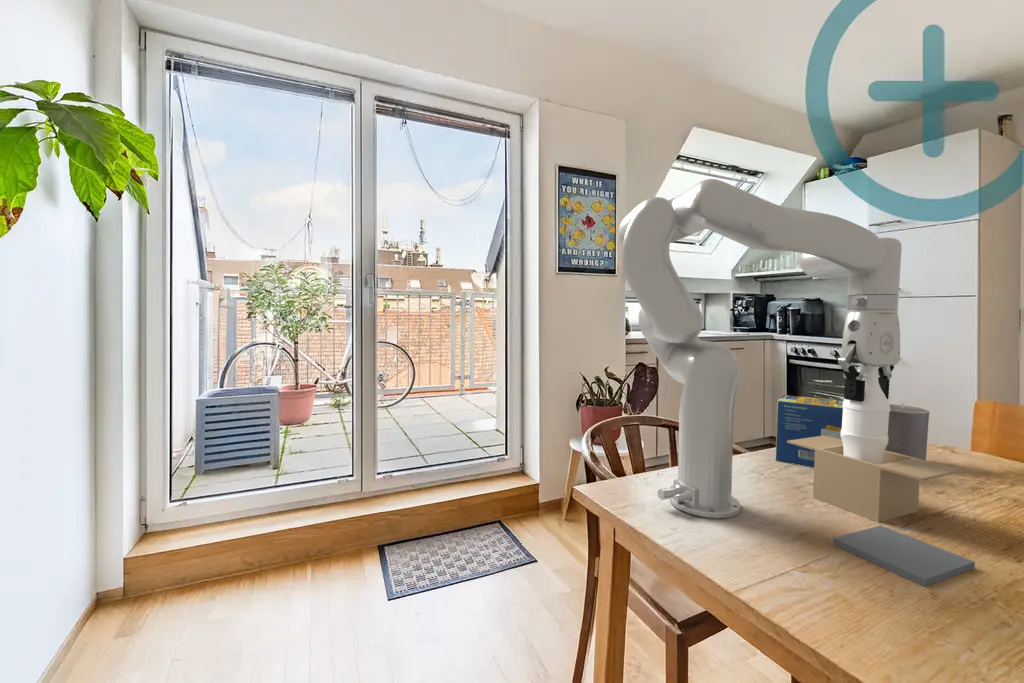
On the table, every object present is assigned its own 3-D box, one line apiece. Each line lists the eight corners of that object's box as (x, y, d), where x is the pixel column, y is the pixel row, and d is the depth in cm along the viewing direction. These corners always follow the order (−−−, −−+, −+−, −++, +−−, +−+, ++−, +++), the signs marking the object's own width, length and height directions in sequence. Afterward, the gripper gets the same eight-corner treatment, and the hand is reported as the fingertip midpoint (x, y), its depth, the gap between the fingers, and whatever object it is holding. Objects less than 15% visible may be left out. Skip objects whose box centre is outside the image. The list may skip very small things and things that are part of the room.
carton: (919, 538, 73) (922, 478, 72) (785, 486, 95) (786, 440, 94) (959, 526, 77) (962, 469, 76) (822, 479, 99) (824, 435, 99)
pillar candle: (865, 457, 114) (868, 400, 113) (891, 454, 117) (895, 398, 116) (908, 470, 105) (912, 408, 104) (936, 466, 108) (940, 405, 107)
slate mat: (924, 586, 60) (925, 579, 60) (832, 544, 71) (833, 538, 71) (974, 568, 64) (975, 561, 64) (880, 531, 75) (880, 525, 75)
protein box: (781, 451, 120) (783, 394, 119) (852, 463, 110) (855, 401, 110) (774, 461, 112) (776, 400, 111) (850, 474, 102) (853, 408, 101)
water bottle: (867, 486, 89) (875, 362, 88) (894, 501, 82) (903, 366, 81) (829, 484, 90) (836, 361, 88) (852, 498, 83) (861, 365, 81)
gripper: (863, 303, 77) (857, 405, 78) (923, 306, 83) (917, 400, 84) (820, 304, 84) (815, 398, 85) (878, 306, 90) (873, 394, 91)
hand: (866, 398), depth 85 cm, fingers closed on water bottle, 6 cm apart
